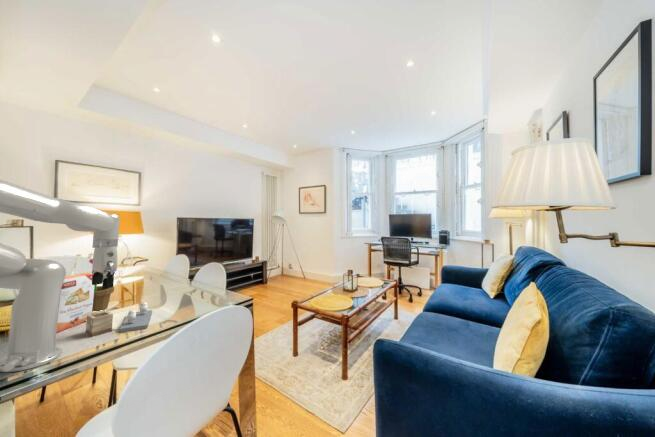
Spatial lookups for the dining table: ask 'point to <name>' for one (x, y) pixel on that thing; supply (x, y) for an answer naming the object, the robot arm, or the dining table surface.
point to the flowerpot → (101, 296)
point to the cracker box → (75, 300)
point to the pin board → (137, 319)
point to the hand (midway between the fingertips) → (102, 286)
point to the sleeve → (99, 323)
